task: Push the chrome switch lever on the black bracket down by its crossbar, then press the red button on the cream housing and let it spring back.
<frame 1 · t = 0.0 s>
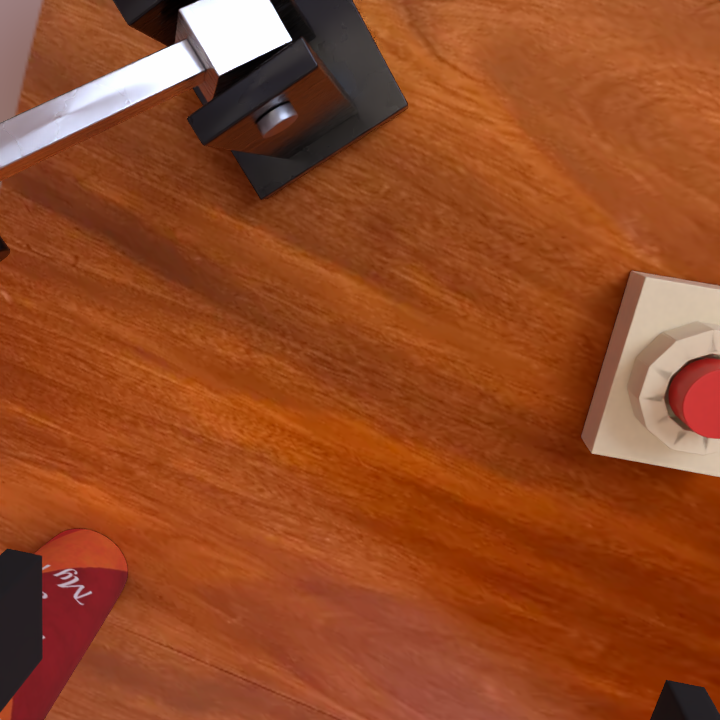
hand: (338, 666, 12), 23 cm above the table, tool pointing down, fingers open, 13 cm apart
red button: (713, 398, 29), point 4 cm above the table, slide at 0.1 cm
button housing: (675, 370, 33), on the table
coffee cup: (87, 563, 41), on the table
switch bracket: (300, 94, 31), on the table
switch lever: (103, 104, 18), point 14 cm above the table, hinge at 30.0°
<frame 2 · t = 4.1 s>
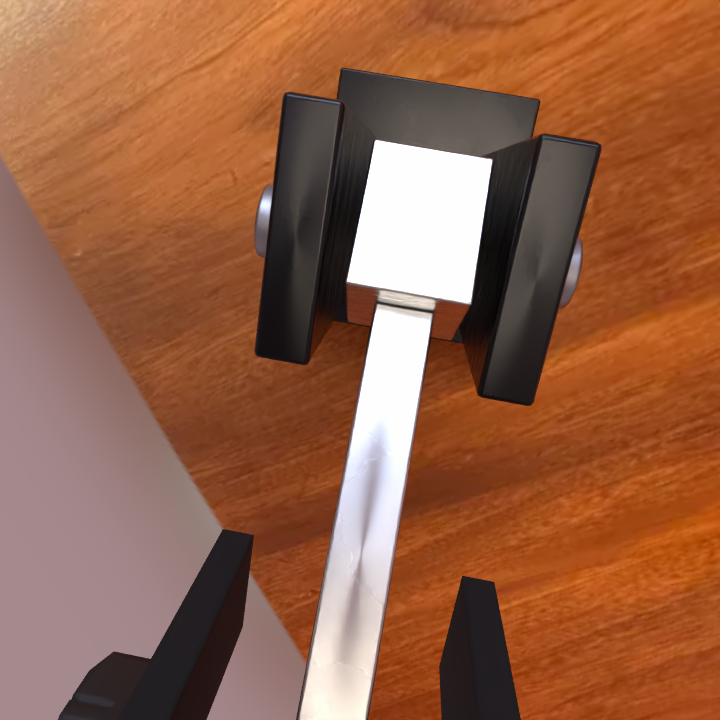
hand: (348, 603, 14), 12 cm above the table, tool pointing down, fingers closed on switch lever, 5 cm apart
switch bracket: (416, 213, 23), on the table
switch lever: (372, 489, 10), point 14 cm above the table, hinge at 30.0°, touching gripper
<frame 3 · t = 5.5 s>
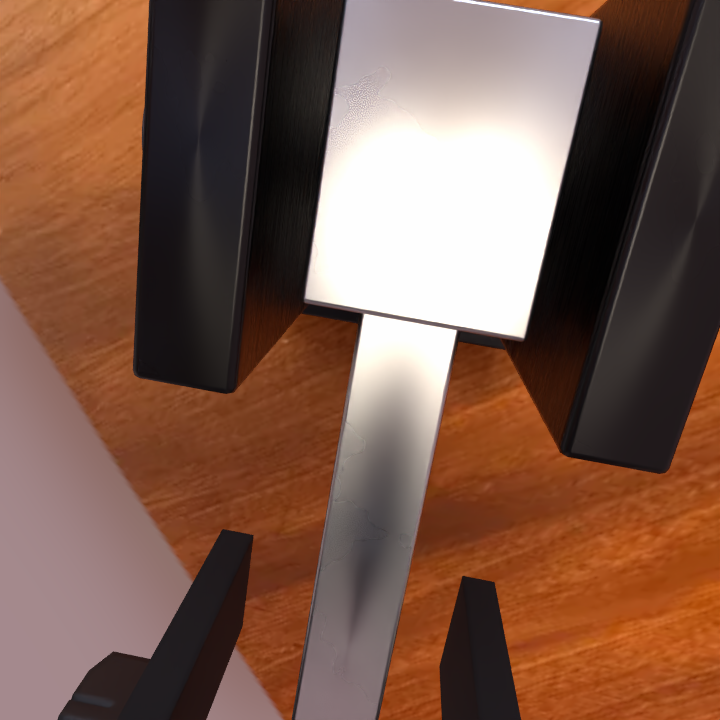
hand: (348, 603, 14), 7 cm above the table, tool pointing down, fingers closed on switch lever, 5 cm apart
switch bracket: (422, 179, 18), on the table
switch lever: (364, 554, 8), point 12 cm above the table, hinge at 3.5°, touching gripper
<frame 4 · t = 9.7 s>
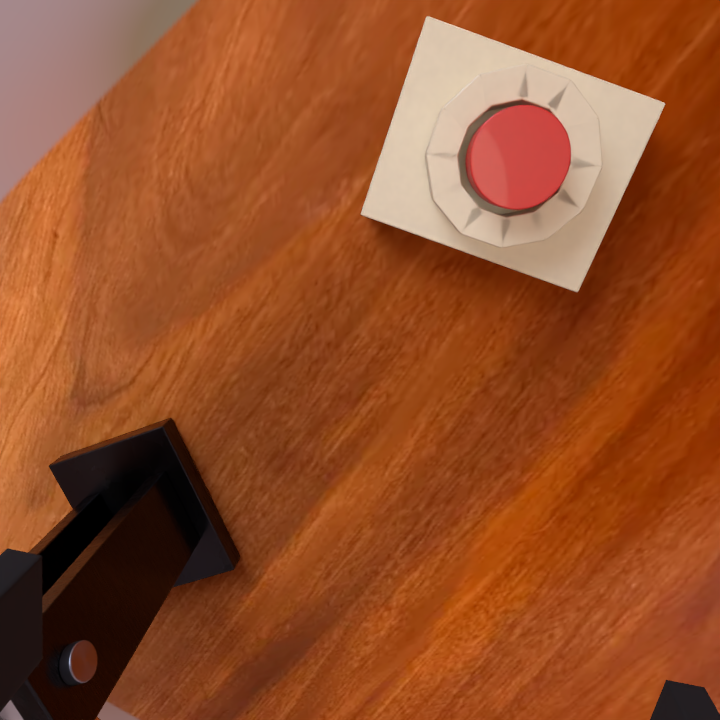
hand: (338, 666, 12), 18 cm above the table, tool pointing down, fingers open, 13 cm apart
red button: (516, 159, 22), point 4 cm above the table, slide at 0.1 cm
button housing: (498, 163, 26), on the table
switch bracket: (152, 507, 33), on the table
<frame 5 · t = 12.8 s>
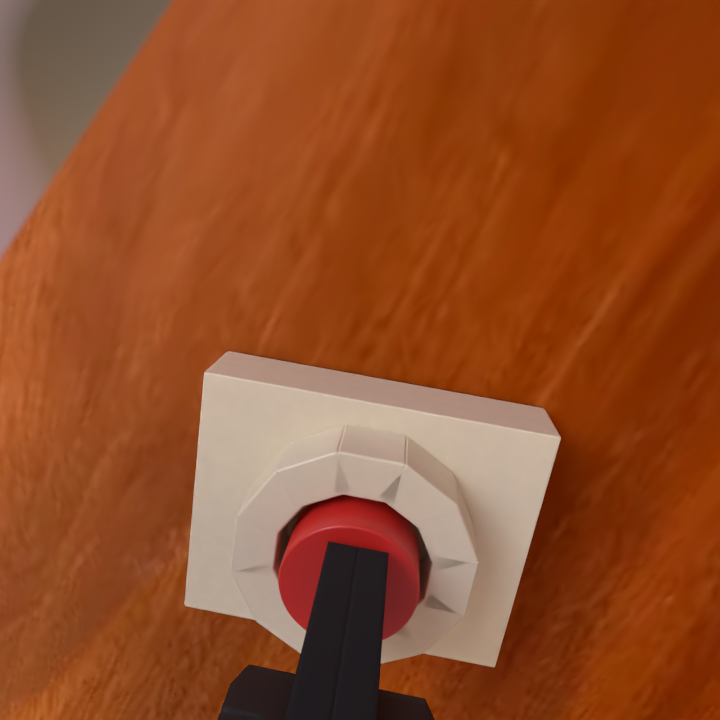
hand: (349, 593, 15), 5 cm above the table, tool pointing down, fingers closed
red button: (351, 566, 16), point 4 cm above the table, slide at -0.4 cm, touching gripper
button housing: (363, 491, 19), on the table
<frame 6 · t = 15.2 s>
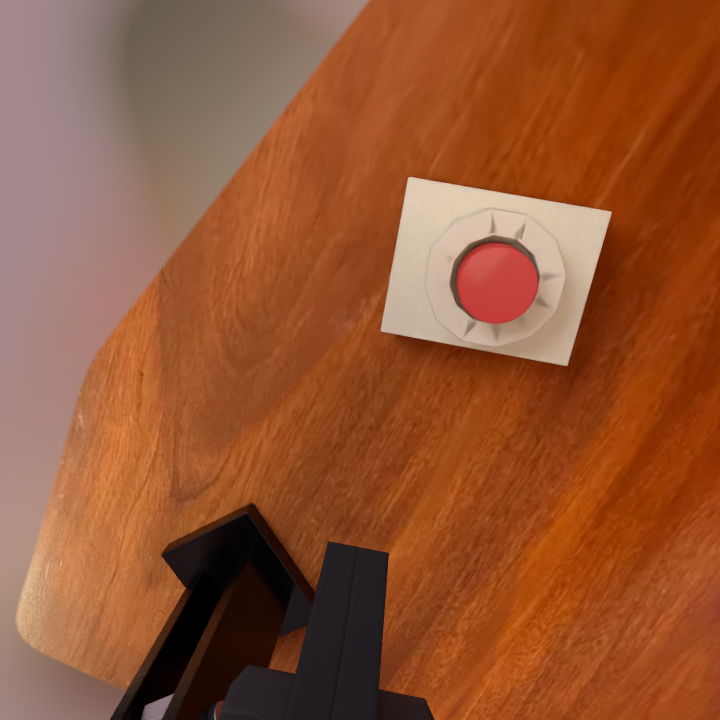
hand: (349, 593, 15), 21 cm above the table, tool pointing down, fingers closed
red button: (495, 282, 28), point 4 cm above the table, slide at 0.1 cm
button housing: (486, 268, 32), on the table
switch bracket: (246, 575, 40), on the table
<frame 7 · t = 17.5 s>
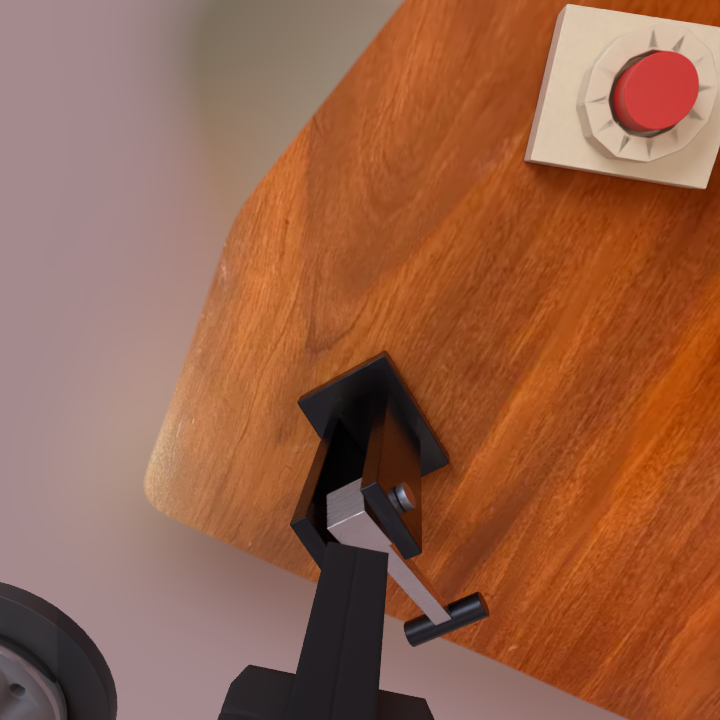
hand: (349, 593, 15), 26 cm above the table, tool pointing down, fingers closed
red button: (654, 93, 30), point 4 cm above the table, slide at 0.1 cm
button housing: (625, 104, 34), on the table
switch bracket: (374, 426, 42), on the table
switch lever: (402, 569, 33), point 11 cm above the table, hinge at -16.1°
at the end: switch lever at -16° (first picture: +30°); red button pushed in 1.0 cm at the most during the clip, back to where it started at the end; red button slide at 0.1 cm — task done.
